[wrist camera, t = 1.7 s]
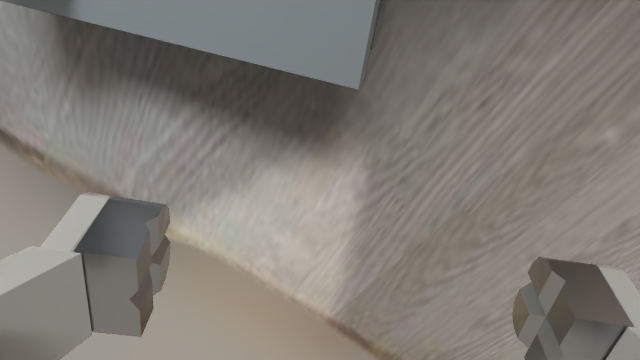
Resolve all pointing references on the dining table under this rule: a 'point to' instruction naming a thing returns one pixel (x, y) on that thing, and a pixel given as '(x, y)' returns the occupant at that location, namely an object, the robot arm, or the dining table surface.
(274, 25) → the tilted grey plate
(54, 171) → the dining table surface
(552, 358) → the robot arm
